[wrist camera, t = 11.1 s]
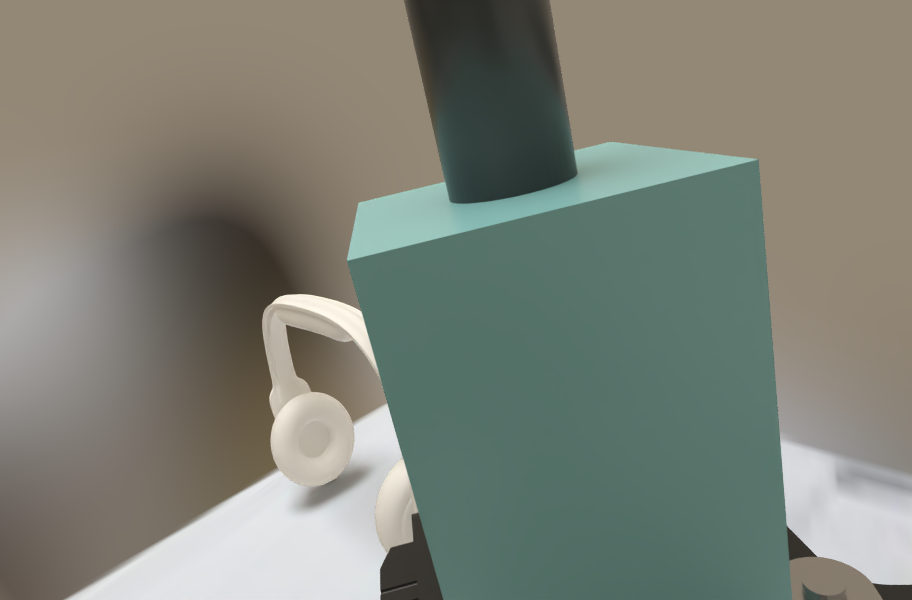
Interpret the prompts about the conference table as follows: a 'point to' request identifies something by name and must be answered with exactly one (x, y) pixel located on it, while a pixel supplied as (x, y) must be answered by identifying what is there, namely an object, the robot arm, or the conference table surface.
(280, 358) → the headset
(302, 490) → the conference table surface
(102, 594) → the conference table surface
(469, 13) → the plug
